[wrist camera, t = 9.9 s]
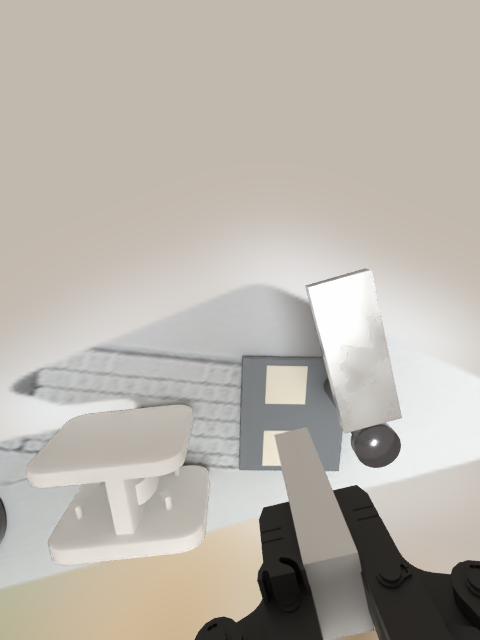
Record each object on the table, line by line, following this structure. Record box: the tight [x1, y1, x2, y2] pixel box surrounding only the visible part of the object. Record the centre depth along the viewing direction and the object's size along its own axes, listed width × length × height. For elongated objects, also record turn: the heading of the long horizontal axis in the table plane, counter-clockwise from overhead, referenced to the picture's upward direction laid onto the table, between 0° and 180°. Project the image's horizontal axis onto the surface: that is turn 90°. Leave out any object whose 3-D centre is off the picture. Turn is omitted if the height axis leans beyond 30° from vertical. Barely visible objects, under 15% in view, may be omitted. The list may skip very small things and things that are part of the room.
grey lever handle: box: [306, 269, 402, 468], centre depth 27 cm, size 16×5×1 cm, turn 16°
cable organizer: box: [25, 405, 210, 565], centre depth 37 cm, size 15×11×12 cm
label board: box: [239, 356, 354, 471], centre depth 36 cm, size 12×14×12 cm
